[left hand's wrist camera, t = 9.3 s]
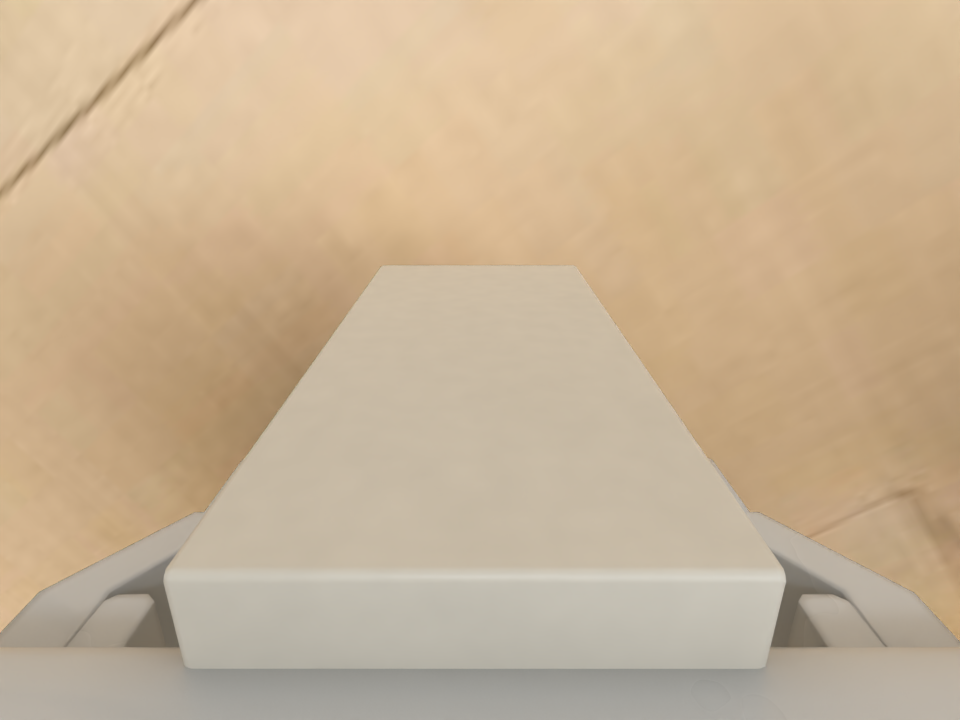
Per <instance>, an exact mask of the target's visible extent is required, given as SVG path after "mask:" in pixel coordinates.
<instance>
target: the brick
mask: <svg viewBox="0 0 960 720" xmlns="http://www.w3.org/2000/svg"><path fill="white" fill-rule="evenodd" d="M163 582H164V586H165V590H166V595H167V599H168V603H169V607H170V611H171V615H172V619H173V623H174V627H175V631H176V635H177V639H178V643H179V647H180V651H181V655H182V659H183V663H184V666H185V667H187V668H190V669H760V668H763V667H766V663H767V659H768V655H769V651H770V646H771V642H772V638H773V634H774V630H775V626H776V621H777V617H778V613H779V609H780V605H781V601H782V597H783V592H784V588H785V584H786V575H785V572H784V569H783V567H782V566H781V564H780V563H779V561H778V560H777V558H776V557H775V556H774V554H773V553H772V551H771V550H770V548H769V547H768V545H767V544H766V542H765V541H764V540H763V538H762V537H761V535H760V534H759V532H758V531H757V529H756V528H755V526H754V525H753V524H752V522H751V521H750V519H749V518H748V516H747V515H746V513H745V512H744V510H743V509H742V508H741V506H740V505H739V503H738V502H737V500H736V499H735V497H734V496H733V494H732V493H731V492H730V490H729V489H728V487H727V486H726V484H725V483H724V481H723V480H722V478H721V477H720V475H719V474H718V473H717V471H716V470H715V468H714V467H713V465H712V464H711V462H710V461H709V459H708V458H707V457H706V455H705V454H704V452H703V451H702V449H701V448H700V446H699V445H698V443H697V442H696V441H695V439H694V438H693V436H692V435H691V433H690V432H689V430H688V429H687V427H686V426H685V425H684V423H683V422H682V420H681V419H680V417H679V416H678V414H677V413H676V411H675V410H674V409H673V407H672V406H671V404H670V403H669V401H668V400H667V398H666V397H665V395H664V394H663V393H662V391H661V390H660V388H659V387H658V385H657V384H656V382H655V381H654V379H653V378H652V376H651V375H650V374H649V372H648V371H647V369H646V368H645V366H644V365H643V363H642V362H641V360H640V359H639V358H638V356H637V355H636V353H635V352H634V350H633V349H632V347H631V346H630V344H629V343H628V342H627V340H626V339H625V337H624V336H623V334H622V333H621V331H620V330H619V328H618V327H617V326H616V324H615V323H614V321H613V320H612V318H611V317H610V315H609V314H608V312H607V311H606V310H605V308H604V307H603V305H602V304H601V302H600V301H599V299H598V298H597V296H596V295H595V293H594V292H593V291H592V289H591V288H590V286H589V285H588V283H587V282H586V280H585V279H584V277H583V276H582V275H581V273H580V272H579V270H578V269H577V267H576V266H574V265H383V266H381V267H380V269H379V270H378V271H377V273H376V274H375V276H374V277H373V278H372V280H371V281H370V283H369V284H368V285H367V287H366V288H365V290H364V291H363V292H362V294H361V295H360V297H359V298H358V300H357V301H356V302H355V304H354V305H353V307H352V308H351V309H350V311H349V312H348V314H347V315H346V316H345V318H344V319H343V321H342V322H341V323H340V325H339V326H338V328H337V329H336V330H335V332H334V333H333V335H332V336H331V337H330V339H329V340H328V342H327V343H326V344H325V346H324V347H323V349H322V350H321V351H320V353H319V354H318V356H317V357H316V359H315V360H314V361H313V363H312V364H311V366H310V367H309V368H308V370H307V371H306V373H305V374H304V375H303V377H302V378H301V380H300V381H299V382H298V384H297V385H296V387H295V388H294V389H293V391H292V392H291V394H290V395H289V396H288V398H287V399H286V401H285V402H284V403H283V405H282V406H281V408H280V409H279V411H278V412H277V413H276V415H275V416H274V418H273V419H272V420H271V422H270V423H269V425H268V426H267V427H266V429H265V430H264V432H263V433H262V434H261V436H260V437H259V439H258V440H257V441H256V443H255V444H254V446H253V447H252V448H251V450H250V451H249V453H248V454H247V455H246V457H245V458H244V460H243V461H242V462H241V464H240V465H239V467H238V468H237V470H236V471H235V472H234V474H233V475H232V477H231V478H230V479H229V481H228V482H227V484H226V485H225V486H224V488H223V489H222V491H221V492H220V493H219V495H218V496H217V498H216V499H215V500H214V502H213V503H212V505H211V506H210V507H209V509H208V510H207V512H206V513H205V514H204V516H203V517H202V519H201V520H200V522H199V523H198V524H197V526H196V527H195V529H194V530H193V531H192V533H191V534H190V536H189V537H188V538H187V540H186V541H185V543H184V544H183V545H182V547H181V548H180V550H179V551H178V552H177V554H176V555H175V557H174V558H173V559H172V561H171V562H170V564H169V565H168V566H167V568H166V570H165V574H164V579H163Z"/></svg>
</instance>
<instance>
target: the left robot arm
mask: <svg viewBox="0 0 960 720" xmlns="http://www.w3.org/2000/svg"><path fill="white" fill-rule="evenodd" d="M707 458H708V457H707ZM708 459H709V461H710V462H711V464H712V465H713V467H714V468H715V470H716V471H717V473H718V474H719V475H720V477H721V478H722V480H723V481H724V483H725V484H726V486H727V487H728V489H729V490H730V492H731V493H732V494H733V496H734V497H735V499H736V500H737V502H738V503H739V505H740V506H741V508H742V509H743V510H744V512H745V513H746V515H747V516H748V518H749V519H750V521H751V522H752V524H753V525H754V526H755V528H756V529H757V531H758V532H759V534H760V535H761V537H762V538H763V540H764V541H765V542H766V544H767V545H768V547H769V548H770V550H771V551H772V553H773V554H774V556H775V557H776V558H777V560H778V561H779V563H780V564H781V566H782V567H783V569H784V572H785V575H786V584H785V588H784V592H783V597H782V601H781V605H780V609H779V613H778V617H777V621H776V626H775V630H774V634H773V638H772V642H771V646H770V651H769V655H768V659H767V663H766V667H763V668H760V669H190V668H187V667H185V666H184V663H183V659H182V655H181V651H180V647H179V643H178V639H177V635H176V631H175V627H174V623H173V619H172V615H171V611H170V607H169V603H168V599H167V595H166V590H165V586H164V582H163V579H164V574H165V570H166V568H167V566H168V565H169V564H170V562H171V561H172V559H173V558H174V557H175V555H176V554H177V552H178V551H179V550H180V548H181V547H182V545H183V544H184V543H185V541H186V540H187V538H188V537H189V536H190V534H191V533H192V531H193V530H194V529H195V527H196V526H197V524H198V523H199V522H200V520H201V519H202V517H203V516H204V514H205V513H206V512H207V510H208V509H209V507H210V506H211V505H212V503H213V502H214V500H215V499H216V498H217V496H218V495H219V493H220V492H221V491H222V489H223V488H224V486H225V485H226V484H227V482H228V481H229V479H230V478H231V477H232V475H233V474H234V472H235V471H236V470H237V468H238V467H239V465H240V464H241V462H242V461H243V460H244V459H243V460H242V461H241V462H240V463H239V465H238V466H237V467H236V469H235V470H234V471H233V473H232V474H231V476H230V477H229V478H228V480H227V481H226V482H225V484H224V485H223V487H222V488H221V489H220V491H219V492H218V494H217V495H216V496H215V498H214V499H213V500H212V502H211V503H210V505H209V506H208V507H207V509H206V510H205V511H204V512H194V513H192V514H190V515H188V516H186V517H184V518H183V519H181V520H179V521H177V522H175V523H173V524H171V525H169V526H167V527H165V528H163V529H161V530H159V531H157V532H155V533H153V534H151V535H149V536H147V537H145V538H143V539H142V540H140V541H138V542H136V543H134V544H132V545H130V546H128V547H126V548H124V549H122V550H120V551H118V552H116V553H114V554H112V555H110V556H108V557H106V558H104V559H102V560H100V561H99V562H97V563H95V564H93V565H91V566H89V567H87V568H85V569H83V570H81V571H79V572H77V573H75V574H73V575H71V576H69V577H67V578H65V579H63V580H61V581H59V582H58V583H56V584H54V585H52V586H50V587H48V588H46V589H44V590H42V591H40V592H39V593H38V594H37V595H36V596H35V597H34V598H33V599H32V600H31V601H30V602H29V603H28V604H27V605H26V606H25V607H24V608H23V609H22V610H21V612H20V613H19V614H18V615H17V616H16V617H15V618H14V619H13V620H12V621H11V622H10V623H9V624H8V625H7V626H6V627H5V628H4V629H3V630H2V631H1V633H0V720H960V641H959V640H958V639H957V638H956V637H955V636H954V635H953V634H952V633H951V632H950V631H949V630H948V628H947V627H946V626H945V625H944V624H943V623H942V622H941V621H940V620H939V619H938V618H937V617H936V616H935V614H934V613H933V612H932V611H931V610H930V609H929V608H928V607H927V606H926V605H925V604H924V603H923V602H922V601H921V599H920V598H919V597H918V596H917V595H916V594H915V593H914V592H912V591H910V590H908V589H906V588H904V587H902V586H900V585H898V584H896V583H894V582H893V581H891V580H889V579H887V578H885V577H883V576H881V575H879V574H877V573H875V572H873V571H871V570H869V569H868V568H866V567H864V566H862V565H860V564H858V563H856V562H854V561H852V560H850V559H848V558H846V557H844V556H842V555H841V554H839V553H837V552H835V551H833V550H831V549H829V548H827V547H825V546H823V545H821V544H819V543H817V542H815V541H814V540H812V539H810V538H808V537H806V536H804V535H802V534H800V533H798V532H796V531H794V530H792V529H790V528H788V527H787V526H785V525H783V524H781V523H779V522H777V521H775V520H773V519H771V518H769V517H767V516H765V515H763V514H762V513H760V512H749V510H748V509H747V508H746V506H745V505H744V503H743V502H742V501H741V499H740V498H739V496H738V495H737V494H736V492H735V491H734V489H733V488H732V487H731V485H730V484H729V482H728V481H727V480H726V478H725V477H724V475H723V474H722V473H721V471H720V470H719V468H718V467H717V466H716V464H715V463H714V461H713V460H712V459H710V458H708Z"/></svg>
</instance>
